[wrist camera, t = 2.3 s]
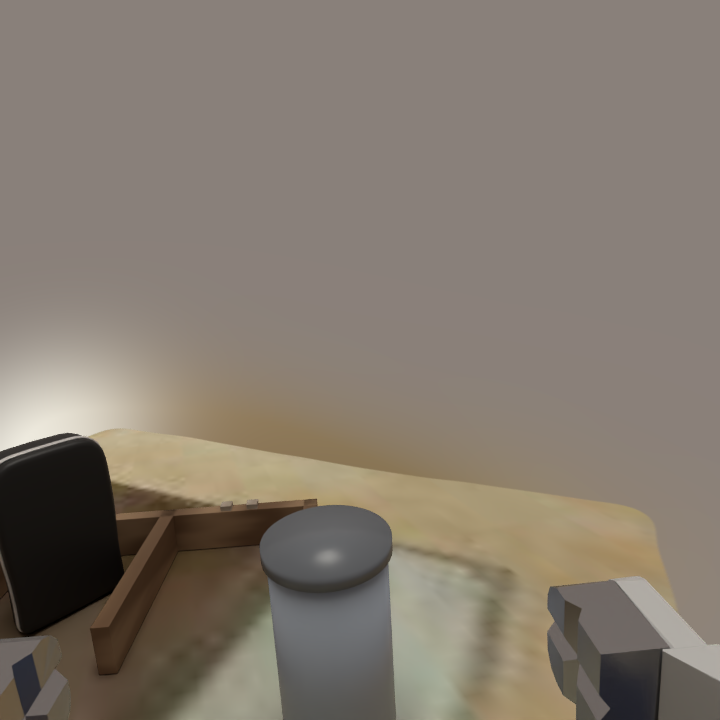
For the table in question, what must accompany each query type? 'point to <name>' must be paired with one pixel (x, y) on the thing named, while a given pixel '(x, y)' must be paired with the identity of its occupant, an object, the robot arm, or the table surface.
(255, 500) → the dock
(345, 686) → the canister
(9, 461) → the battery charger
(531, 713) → the table surface
